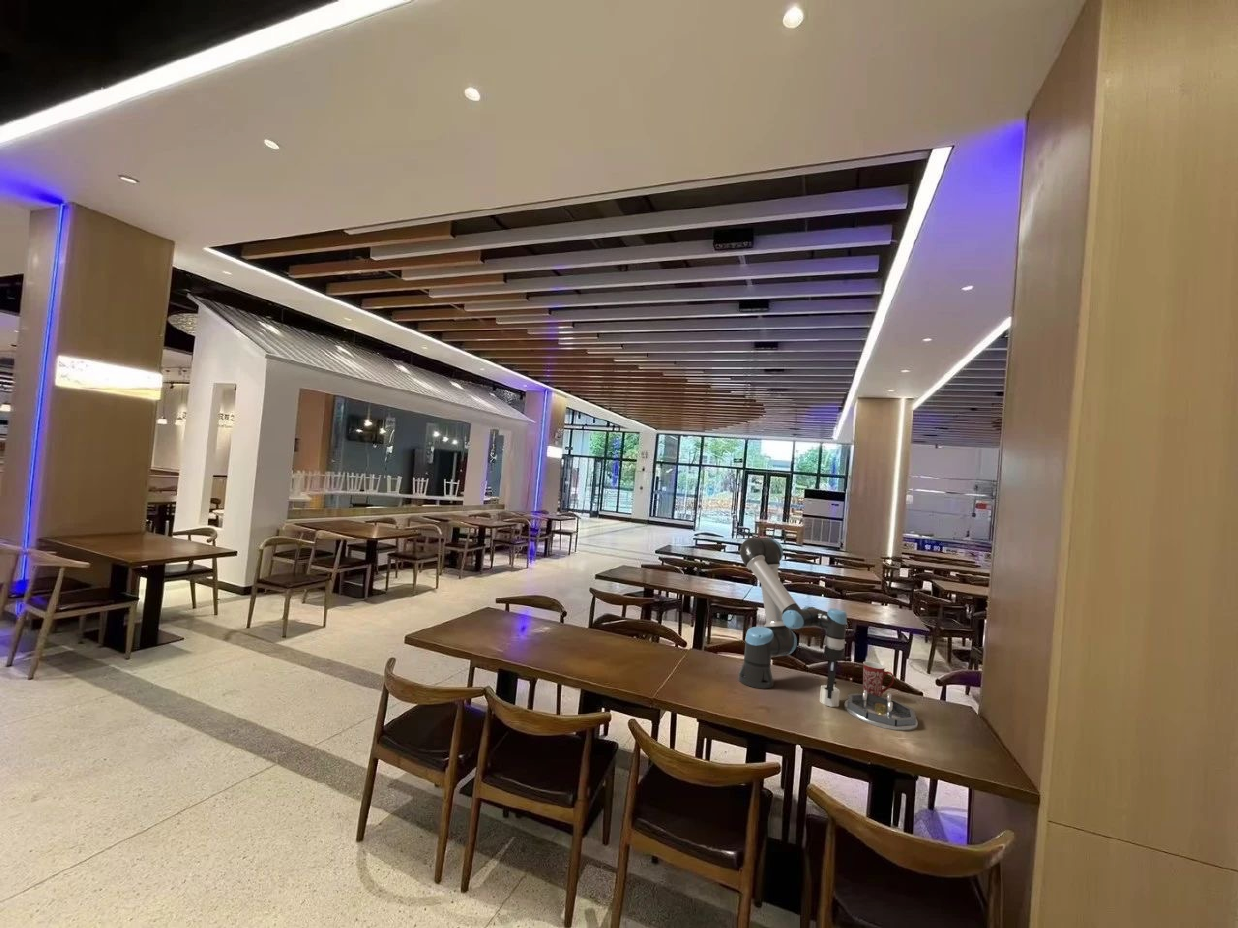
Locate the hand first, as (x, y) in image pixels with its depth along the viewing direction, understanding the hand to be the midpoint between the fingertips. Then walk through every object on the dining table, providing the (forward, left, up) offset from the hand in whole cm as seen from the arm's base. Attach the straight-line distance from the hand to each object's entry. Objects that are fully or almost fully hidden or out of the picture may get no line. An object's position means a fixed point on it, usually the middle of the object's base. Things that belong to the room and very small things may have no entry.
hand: (829, 702), depth 219 cm
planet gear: (0, 0, 0) cm, 0 cm away
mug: (+18, +23, 0) cm, 29 cm away
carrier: (+19, +1, 0) cm, 19 cm away
